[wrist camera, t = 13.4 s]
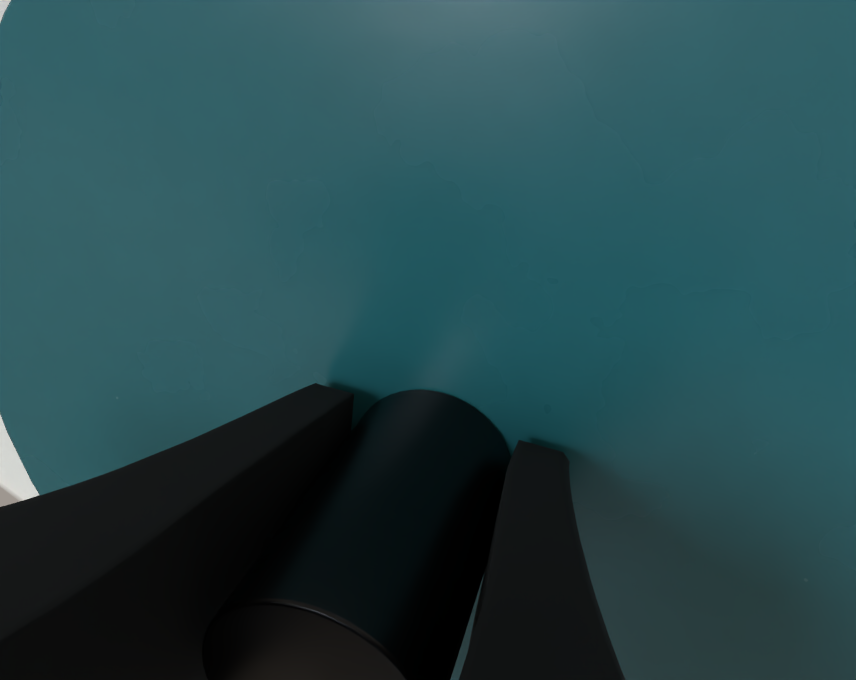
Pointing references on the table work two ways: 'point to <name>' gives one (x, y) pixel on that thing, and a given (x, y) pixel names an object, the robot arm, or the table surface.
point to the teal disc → (457, 302)
